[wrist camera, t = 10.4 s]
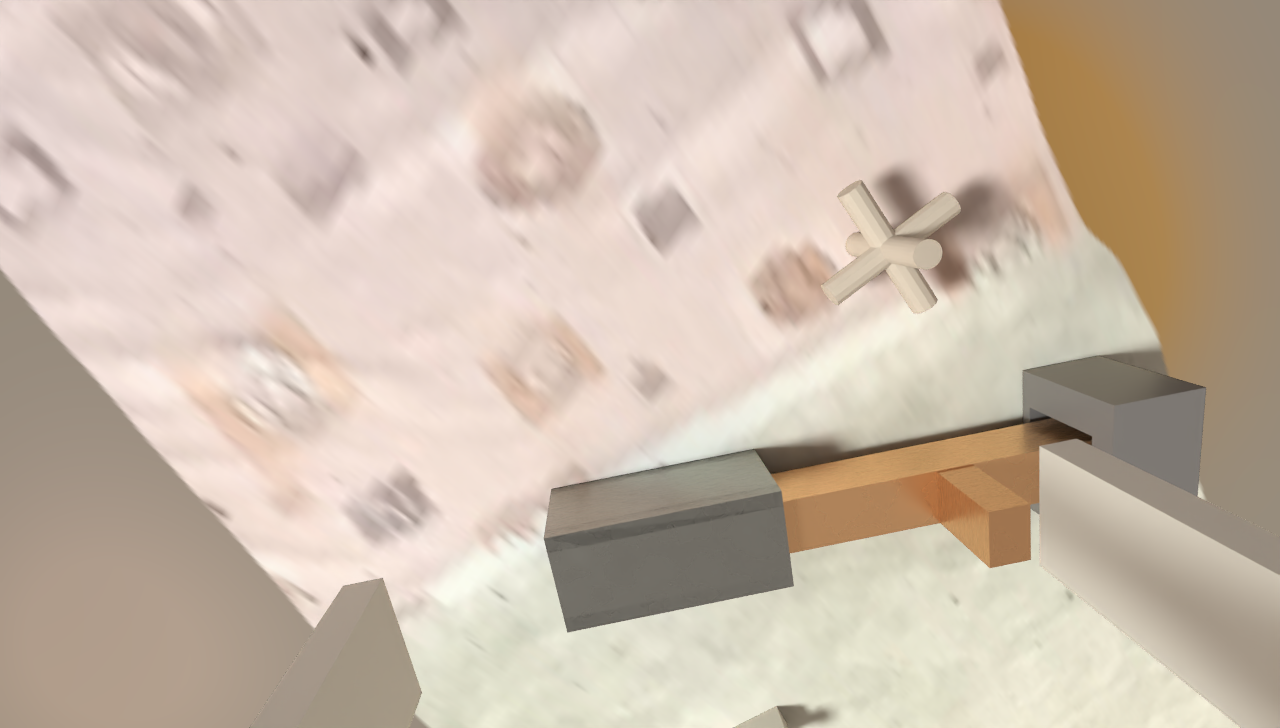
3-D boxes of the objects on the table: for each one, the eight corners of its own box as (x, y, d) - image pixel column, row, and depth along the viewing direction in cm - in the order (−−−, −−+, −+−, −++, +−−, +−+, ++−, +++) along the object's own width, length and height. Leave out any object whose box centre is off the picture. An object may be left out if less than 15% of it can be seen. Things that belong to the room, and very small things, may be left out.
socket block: (1022, 370, 49) (1114, 405, 40) (1098, 355, 49) (1206, 387, 41) (1023, 503, 52) (1108, 562, 44) (1094, 489, 53) (1193, 545, 44)
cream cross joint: (943, 255, 46) (1036, 268, 36) (838, 334, 47) (901, 367, 38) (877, 147, 44) (957, 130, 34) (767, 233, 45) (815, 240, 35)
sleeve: (551, 489, 49) (543, 538, 42) (754, 449, 49) (781, 490, 42) (571, 571, 51) (567, 632, 44) (765, 532, 51) (793, 586, 44)
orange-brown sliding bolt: (712, 485, 48) (744, 560, 38) (1070, 414, 49) (1195, 469, 39) (720, 533, 49) (753, 617, 39) (1069, 463, 50) (1190, 528, 40)
